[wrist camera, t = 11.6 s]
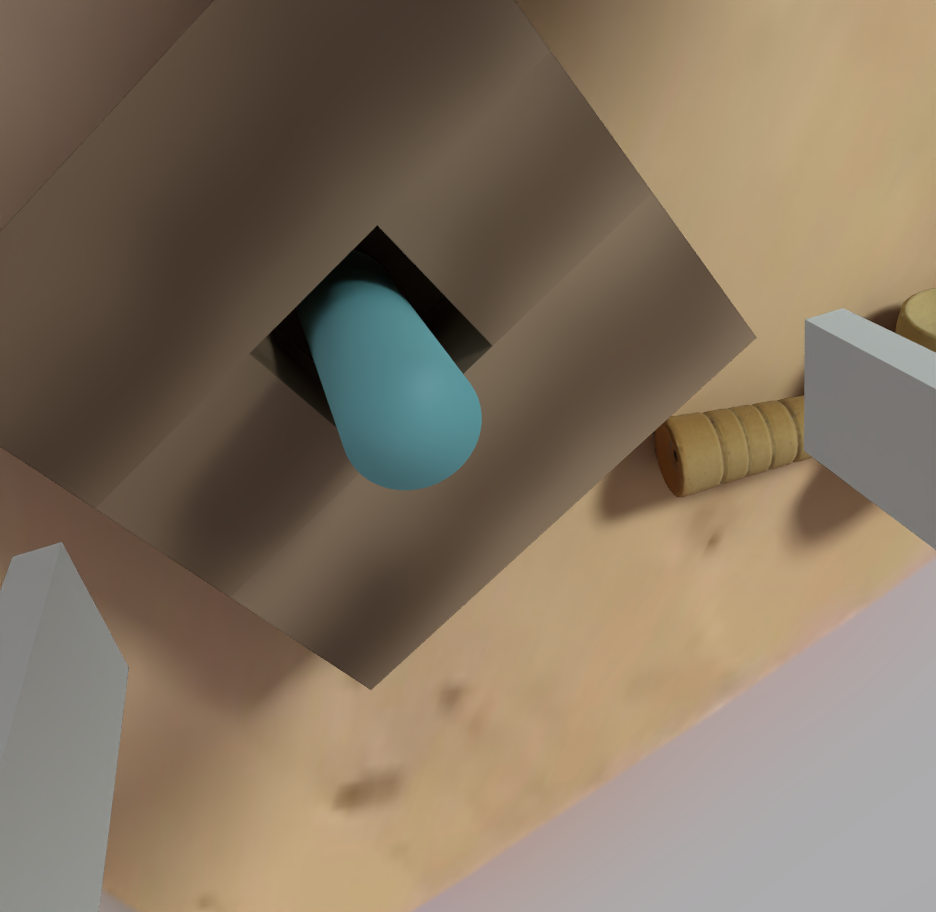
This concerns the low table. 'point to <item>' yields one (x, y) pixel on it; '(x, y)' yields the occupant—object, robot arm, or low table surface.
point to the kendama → (757, 425)
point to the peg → (388, 379)
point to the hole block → (305, 265)
